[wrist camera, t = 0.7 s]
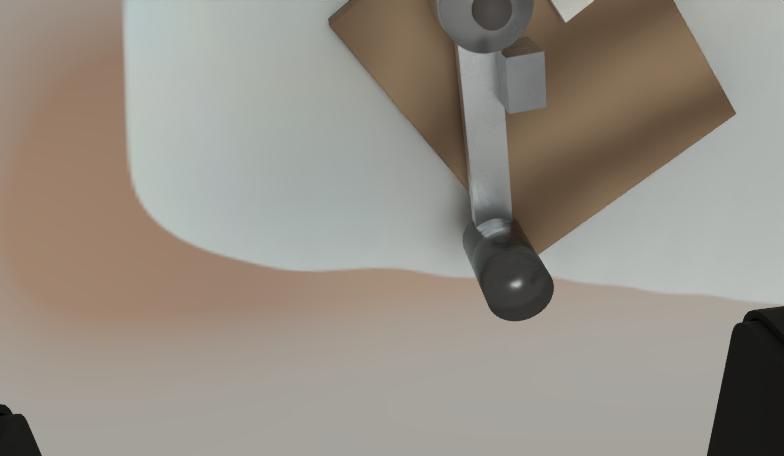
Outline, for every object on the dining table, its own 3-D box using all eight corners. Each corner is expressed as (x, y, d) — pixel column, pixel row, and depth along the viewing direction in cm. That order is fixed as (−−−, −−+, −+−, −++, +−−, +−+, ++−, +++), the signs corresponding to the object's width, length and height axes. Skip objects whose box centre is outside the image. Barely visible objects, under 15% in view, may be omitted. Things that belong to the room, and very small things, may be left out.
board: (720, 103, 36) (797, 150, 31) (519, 247, 39) (557, 314, 33) (559, -181, 29) (622, -187, 24) (328, 18, 32) (336, 55, 26)
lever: (422, -46, 29) (446, -26, 24) (521, -64, 29) (563, -47, 24) (459, 269, 36) (483, 328, 32) (538, 254, 36) (572, 310, 32)
